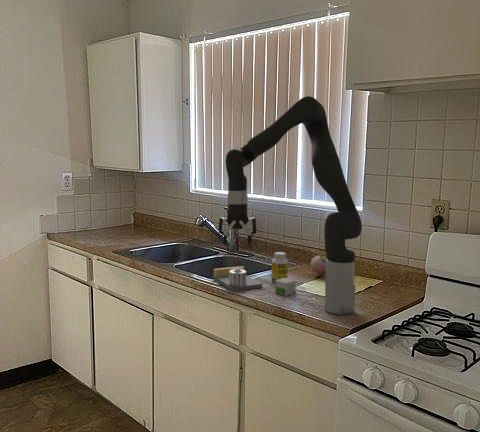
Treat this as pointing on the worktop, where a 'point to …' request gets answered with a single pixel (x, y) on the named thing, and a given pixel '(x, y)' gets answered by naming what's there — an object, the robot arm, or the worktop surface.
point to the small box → (285, 286)
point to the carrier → (223, 278)
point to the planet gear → (237, 278)
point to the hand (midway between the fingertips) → (237, 244)
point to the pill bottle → (279, 266)
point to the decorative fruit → (319, 264)
